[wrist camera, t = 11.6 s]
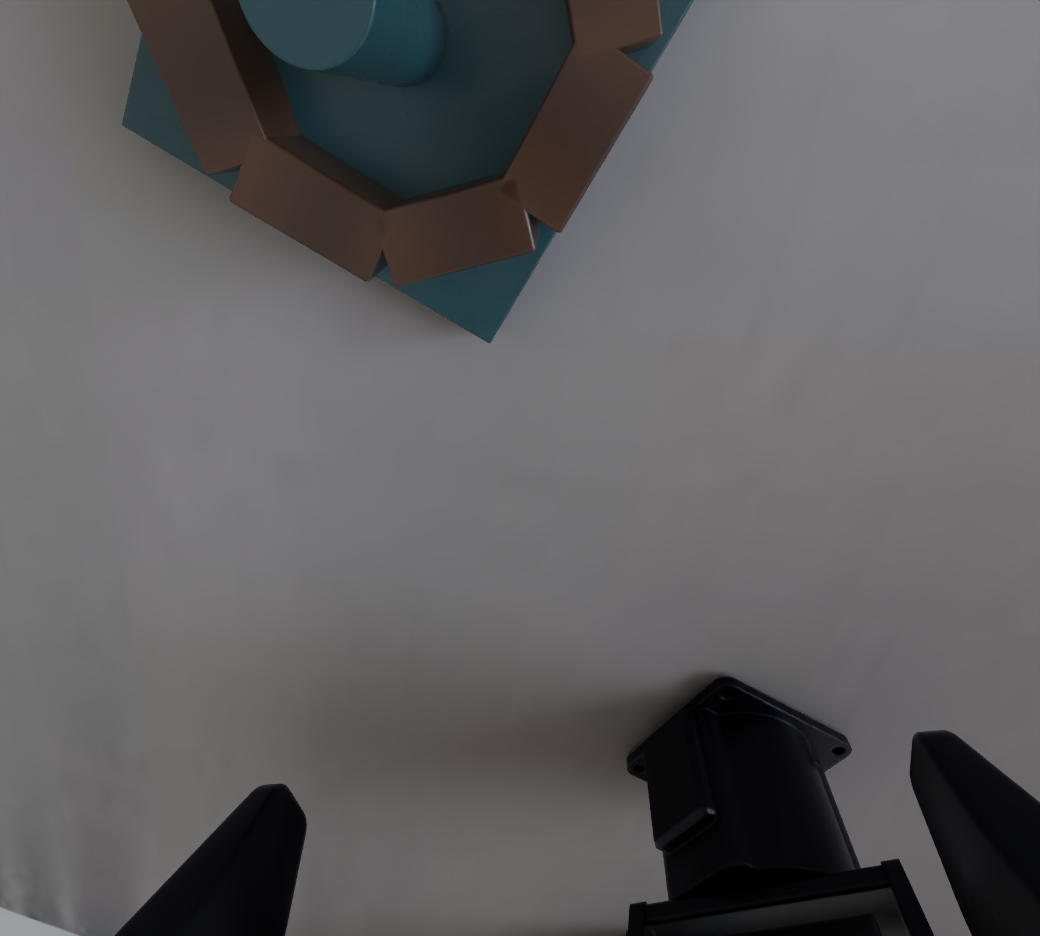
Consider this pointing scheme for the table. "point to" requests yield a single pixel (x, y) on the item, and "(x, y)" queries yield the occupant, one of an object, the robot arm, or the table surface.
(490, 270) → the post stand
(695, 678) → the table surface
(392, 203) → the ring
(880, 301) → the table surface
